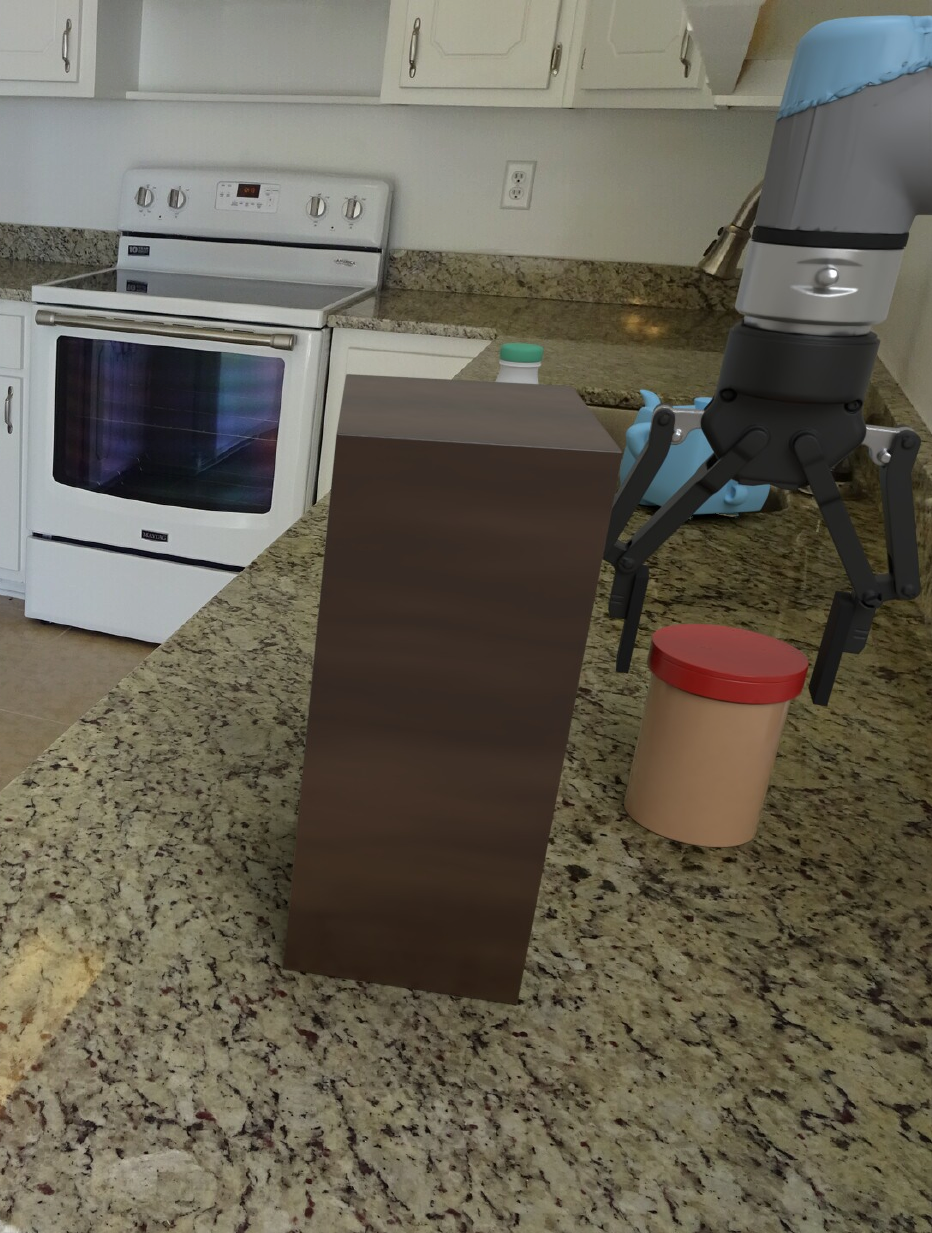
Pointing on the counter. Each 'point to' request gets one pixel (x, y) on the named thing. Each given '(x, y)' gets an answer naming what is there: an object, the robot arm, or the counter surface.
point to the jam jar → (702, 766)
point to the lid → (727, 663)
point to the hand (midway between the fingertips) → (717, 681)
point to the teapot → (685, 466)
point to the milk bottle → (519, 363)
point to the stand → (444, 677)
